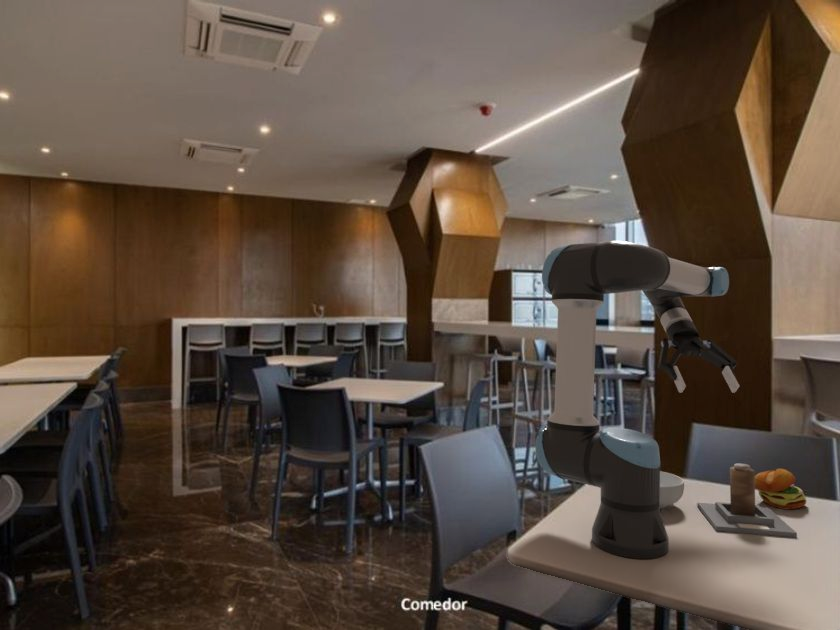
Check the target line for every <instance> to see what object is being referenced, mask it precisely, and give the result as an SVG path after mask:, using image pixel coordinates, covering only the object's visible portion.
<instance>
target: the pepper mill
mask: <svg viewBox="0 0 840 630" xmlns="http://www.w3.org/2000/svg"><path fill="white" fill-rule="evenodd" d="M755 472H756V471H755V469H752V468H751V466H750V465H749V464H746V463H739V462H738V463H734V465H733V466H730V468H729V483H730V484H729V487H730V490H729V491H730V493H729V494H730V503H731V515H744V516H755V505H756V488H755V476H756V474H755Z"/></svg>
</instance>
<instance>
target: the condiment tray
mask: <svg viewBox="0 0 840 630" xmlns="http://www.w3.org/2000/svg"><path fill="white" fill-rule="evenodd" d="M697 508H698V509H699V511H700V512H701V513H702V515H703V516H704V517H705V518H706V519H707V521H708V522H709V523H710V525H711V526H712V528H714V530H715V531H716V532H726V533H739V534H748V535H749V534H752V535H763V536H777V537H787V538H798V533H797V531H795V530H794V529H793V528H792V527H791V526H790V525H788V524H787V523H786V522H785V520H783V519H782V518H780V517H779V516H778V515H777V514H776V513H775V512H773V510H771V509H770V507H763V506H760V505H758V504H755V516H744V515H731V502H721V501H720V502H719V501H715V503H709V502H708V503H706V502H697Z"/></svg>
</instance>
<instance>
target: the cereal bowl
mask: <svg viewBox="0 0 840 630" xmlns="http://www.w3.org/2000/svg"><path fill="white" fill-rule="evenodd" d="M684 489H685V481H684V479H683V478H682V477H680V476H678V475H676V474H673V473H670V472H667V471H666V472H665V471H661V470H660V500H659V510H661V509H664V508H665V507H667V506H672V505H673V504H675V503H677V502H679V501H680V500H681V498H682V497H683V494H684V492H685V491H684Z"/></svg>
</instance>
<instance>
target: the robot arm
mask: <svg viewBox="0 0 840 630" xmlns="http://www.w3.org/2000/svg"><path fill="white" fill-rule="evenodd" d="M543 262H544V263H543V265H542V266H543V267H542V270H541V281H542V284H543V285H544V286H543V287H544V290H545V291H546V293H548V294H549V295H551V303H552V304H553V305H554V306H555V307H556V309H557V327H556V329H557V330H556V354H555V355H556V357H555V384H554V385H555V386H554V408H553V409H554V410H553V413H552V414H550V415H549V416H548V417H547V418H546V419H547V420H546V424H544V425H543V426H542V427H540V429H539V430H538V434H537V436H536V439H535V454H536V458H537V462H538V464H539V465H540V467H541V468H542V469H543V471H545V473H547V474H548V475H551V476H554V477H557V478H559V479H561V480H568V481H572V482H576V483H580V484H584V485H588V486H593V487H596V488H600V505H599V508H598V510H597V513H596V515H595V519H594V521H593V525H592V528H591V541H592V542H593V544H594V545H595V546H597V547H598V548H599V549H600V550H601V549H602V550H603V551H605V552H607V553H609V554H613V555H616V556H619V557H620V556H621V557H625V558H631V559H641V560H642V559H645V560H647V559H656V558H660V557H663V556H665V555H667V554H668V552H669V542H670V540H669V536H668V533H667V530H666V526H665V523H664V520H663V517H662V514H661V511H660V510H661V509H659V500H660V471H661V462H662V461H661V457H660V446H659V444H658V442H657V440H655V439H654V438H653V437H652V436H650V435H648V434H646V433H644V432H640V431H638V430H634V429H630V428H622V427H621V428H620V427H615V426H614V427H612V426H611V427H606V428H603V429H602V430H600V421H599V420H598V419H597V418H596V417H595V415H594V394H595V393H594V392H595V365H596V364H595V362H596V359H595V358H596V335H597V331H596V330H597V326H596V325H597V310H598V309H599V308H600V307H601V306H602V305H603V304H604V303H605V300H604V299H605V294H607V295H609V294H611V295H612V294H621V293H628V292H639V291H642V293H643V294H644V295H645V297H646V298H647V299H648V302H649V303H650V304H651V306H652V308H653V309H654V311H655V313H656V315H657V317H658V318H659V321H660V324H661V326H662V327H663V330H664V331H665V335H666V337H667V338H666V337H663V338H662V340H661V342H660V344H659V347H660V350H661V351H660V355H659V358H658V359H659V361H658V364H657V369H658V370H660V371H663V370H664V371H663V372H664V373H665V374H667V375H668V376H669V379H670V380H671V381H674V384H675V387H676V388H677V391H678V393H681V394H682V393H683V391H684V390H685V389H686V387H687V385H686V383H685V381H684V378H683V376H682V374H681V372H680V370H679V367H678V366H677V365H675V364H676V362H677V361H678V359H679V357H680V356H681V355H683V356H685V357H688V356H692V357H695V356H697V357H698V358H700V359H704V360H706V361H707V362H709V363H710V364H712V365H714V366H715V367H717V368H719V369H720V370H722V371H721V374H722V377H723V378H724V381H725V382H726V385H728V387H729V389H730V391H731V393H734V394H735V393H736V392H737V391H738V389H739V388H740V384H739V382H738V381H737V374H736V372H735V371H734V370H735V368H736V367H737V365H738V364H739V363H738V361H737V360H736V359H735V358H733V357H732V356H731V355H729V354H728V353H727V352H726V351H725V350H724V349H723V348H722V347H720V346H718V344H717V343H716V342H715V341H714V339H713V338H711V337H708V339H707V340H702V339H701V338H700V335H699V331H698V330H697V328H696V325H695V323H694V322H693V320H692V318H691V316H690V314H689V312H688V310H687V309H686V307H685V305H684V302H683V300H682V298H685V297H711V298H713V297H718V296H719V297H720V296H724V295H726V294H727V292H728V290H729V287H730V277H729V272H728V270H727V269H726V268H725V267H722V266H717V267H716V266H711V267H704V266H701V265H700V266H699V265H696V264H693V263H691V262H690V263H689V262H685V261H682V260H679V259H676V258H672V257H669V256H668V255H667V254H666V253H664V251H662V250H660V249H657V248H654V247H652V246H647V245H643V244H639V243H635V242H629V241H623V240H607V241H597V242H586V243H585V242H584V243H575V244H573V243H572V244H571V243H570V244H568V245H563V246H558V247H556V248H554V249H552V251H550V253H549V254H548V255H547V256H546V258H545V260H544V261H543ZM681 297H682V298H681ZM670 347H671V348H672V349H674V350H675V352H674V354H673V356H672V357H671V358H670V360H669V361H668V362H667V357H668V353H669V349H670ZM701 350H702V351H701ZM600 431H601V432H600Z"/></svg>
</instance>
